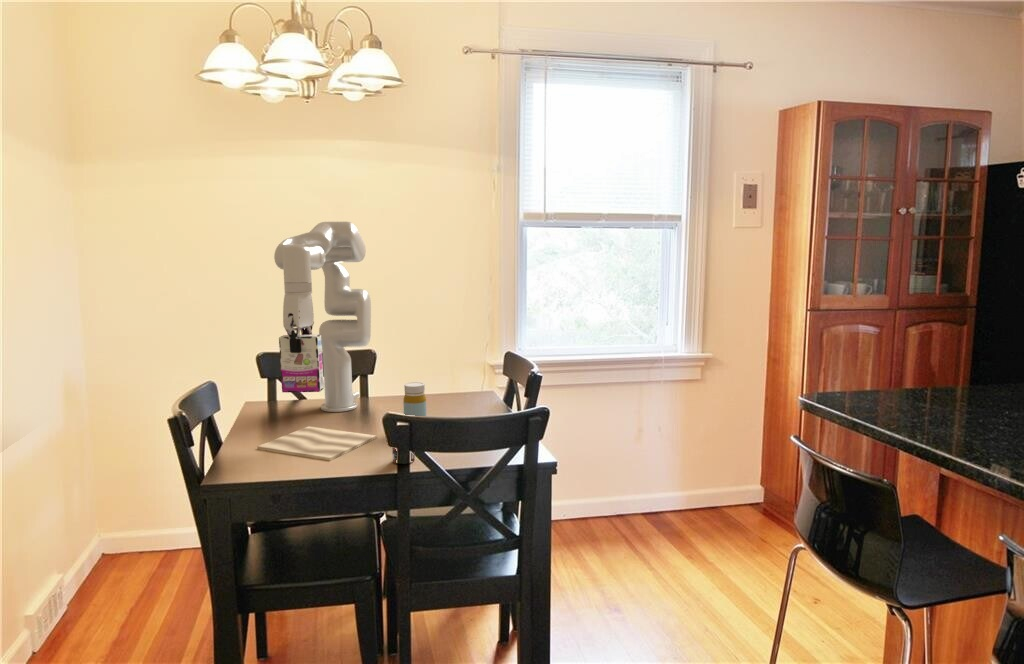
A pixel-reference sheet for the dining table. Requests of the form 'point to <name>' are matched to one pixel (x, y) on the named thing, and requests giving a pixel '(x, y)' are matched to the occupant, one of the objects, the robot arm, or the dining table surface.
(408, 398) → the bottle
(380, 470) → the dining table surface
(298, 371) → the candy bar box
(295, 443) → the birch board
